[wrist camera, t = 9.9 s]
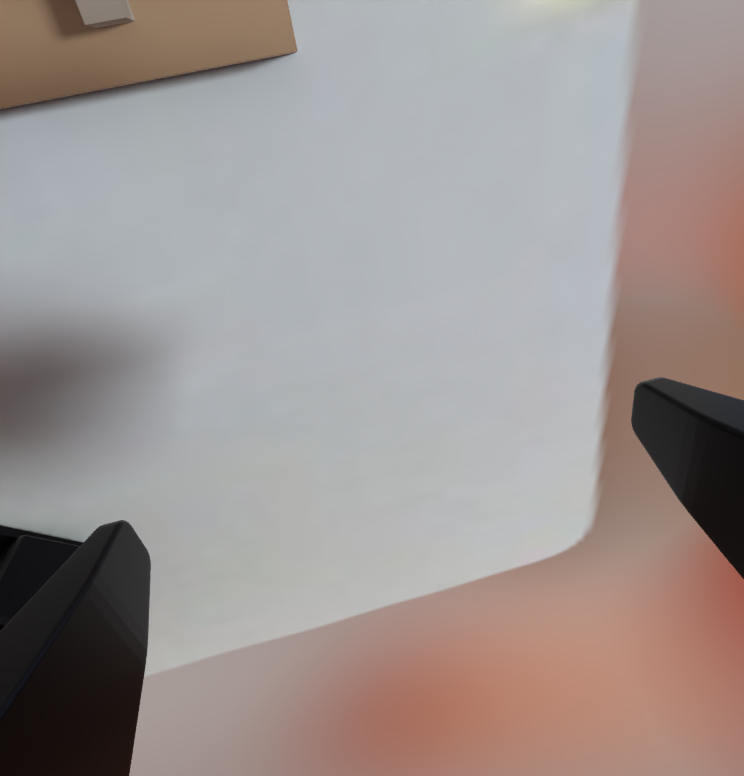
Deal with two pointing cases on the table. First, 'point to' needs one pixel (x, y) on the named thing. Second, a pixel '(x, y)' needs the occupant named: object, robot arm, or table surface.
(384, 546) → the table surface
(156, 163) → the table surface
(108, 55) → the gear board
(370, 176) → the table surface
